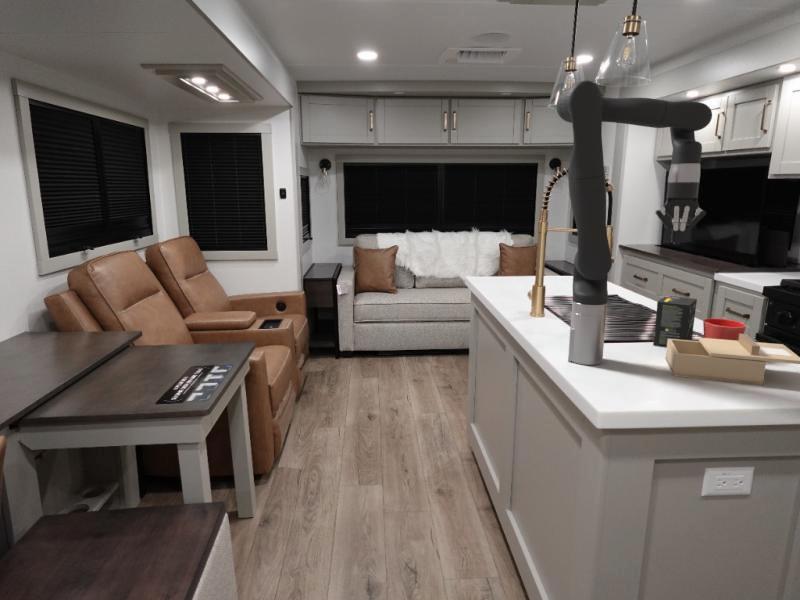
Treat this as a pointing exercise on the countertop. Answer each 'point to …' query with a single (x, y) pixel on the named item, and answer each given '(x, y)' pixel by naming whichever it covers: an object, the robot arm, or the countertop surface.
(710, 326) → the flower pot
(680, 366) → the box
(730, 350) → the lid
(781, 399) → the countertop surface
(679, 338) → the tampon box
